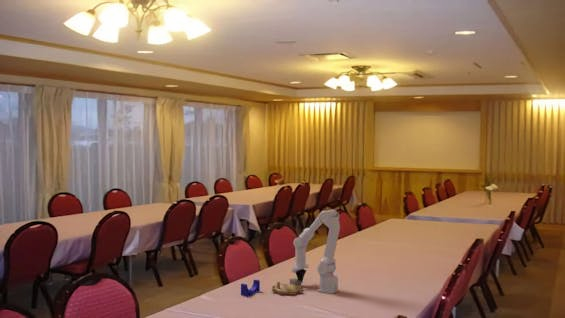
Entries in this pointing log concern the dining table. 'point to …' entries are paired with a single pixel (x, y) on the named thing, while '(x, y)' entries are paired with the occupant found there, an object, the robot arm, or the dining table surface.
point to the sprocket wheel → (286, 288)
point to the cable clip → (251, 291)
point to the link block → (295, 282)
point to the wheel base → (289, 294)
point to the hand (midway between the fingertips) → (300, 282)
